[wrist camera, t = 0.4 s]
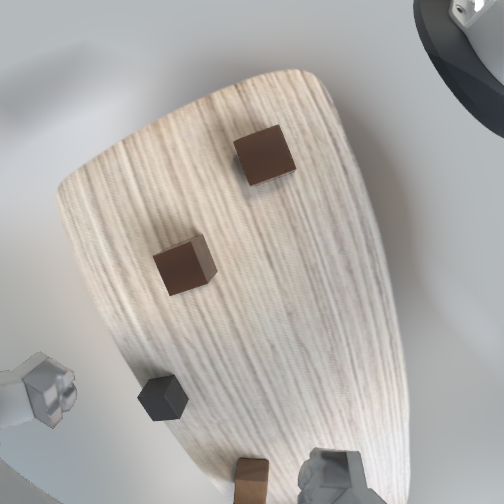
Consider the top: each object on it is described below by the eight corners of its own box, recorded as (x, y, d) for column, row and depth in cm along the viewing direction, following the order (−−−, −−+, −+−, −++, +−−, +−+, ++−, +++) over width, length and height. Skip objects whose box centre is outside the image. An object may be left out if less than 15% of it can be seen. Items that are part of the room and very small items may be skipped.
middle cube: (168, 247, 30) (152, 256, 26) (202, 233, 29) (190, 241, 25) (183, 282, 31) (169, 296, 27) (217, 271, 30) (208, 283, 26)
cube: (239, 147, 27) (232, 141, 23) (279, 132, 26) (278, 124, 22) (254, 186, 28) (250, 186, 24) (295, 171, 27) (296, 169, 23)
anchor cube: (149, 379, 34) (136, 397, 30) (174, 374, 33) (163, 394, 29) (163, 402, 35) (153, 421, 31) (188, 399, 34) (179, 419, 30)
